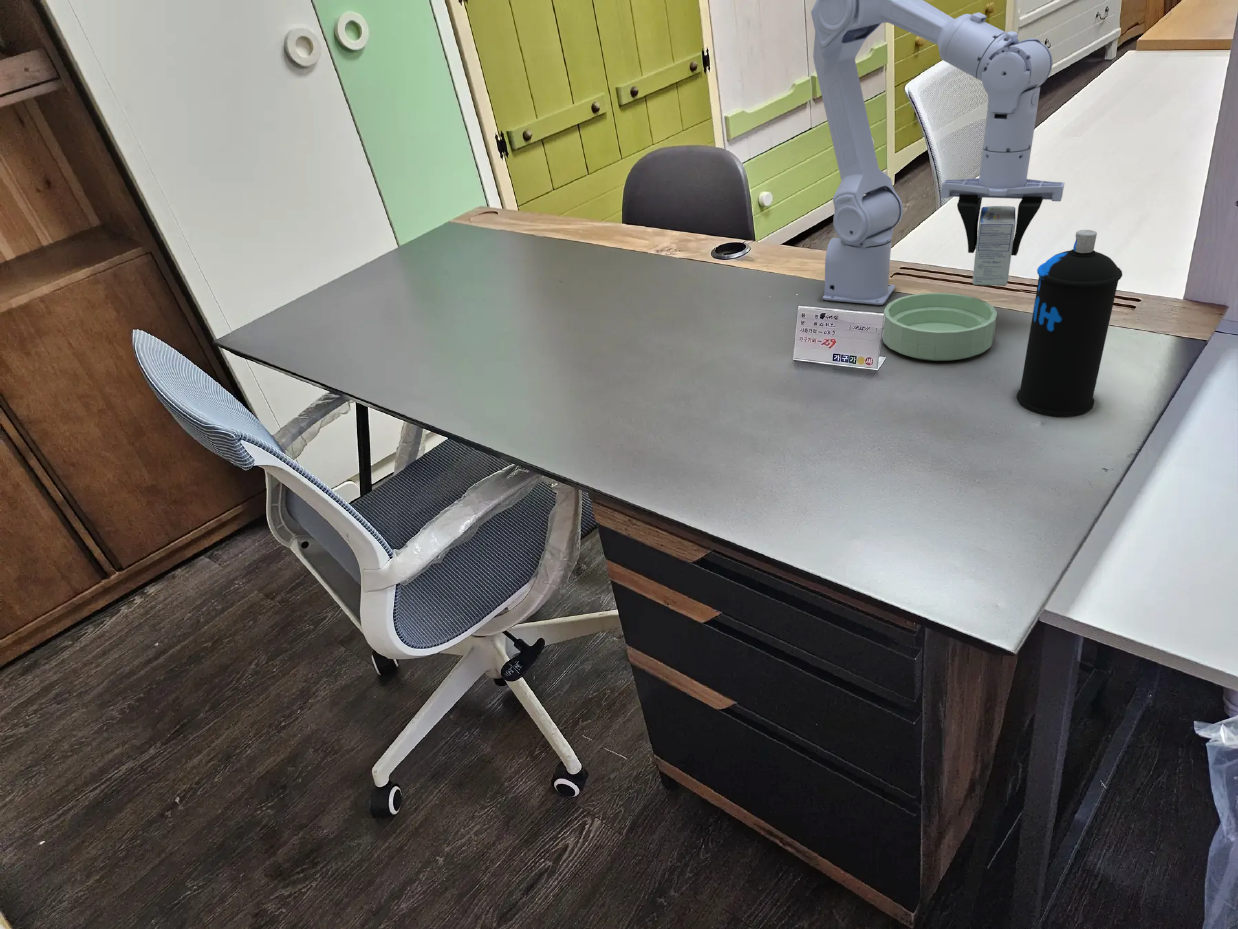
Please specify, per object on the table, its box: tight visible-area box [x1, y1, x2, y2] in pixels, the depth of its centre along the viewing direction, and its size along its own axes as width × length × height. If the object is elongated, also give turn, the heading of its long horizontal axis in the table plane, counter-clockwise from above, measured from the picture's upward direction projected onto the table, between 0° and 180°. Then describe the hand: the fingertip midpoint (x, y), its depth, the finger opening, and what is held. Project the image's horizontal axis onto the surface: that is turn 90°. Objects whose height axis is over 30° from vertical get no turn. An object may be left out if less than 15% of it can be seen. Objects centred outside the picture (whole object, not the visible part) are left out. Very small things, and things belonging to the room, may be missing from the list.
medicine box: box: [972, 205, 1017, 287], centre depth 114 cm, size 8×4×9 cm, turn 159°
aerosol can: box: [1016, 229, 1123, 417], centre depth 94 cm, size 8×8×20 cm
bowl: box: [882, 292, 998, 362], centre depth 115 cm, size 14×14×4 cm
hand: (992, 251), depth 115 cm, fingers closed on medicine box, 5 cm apart
